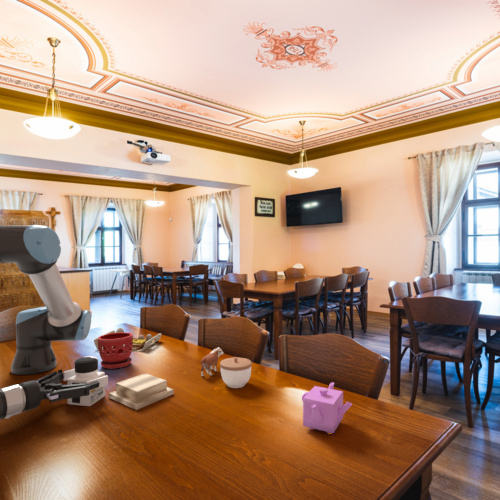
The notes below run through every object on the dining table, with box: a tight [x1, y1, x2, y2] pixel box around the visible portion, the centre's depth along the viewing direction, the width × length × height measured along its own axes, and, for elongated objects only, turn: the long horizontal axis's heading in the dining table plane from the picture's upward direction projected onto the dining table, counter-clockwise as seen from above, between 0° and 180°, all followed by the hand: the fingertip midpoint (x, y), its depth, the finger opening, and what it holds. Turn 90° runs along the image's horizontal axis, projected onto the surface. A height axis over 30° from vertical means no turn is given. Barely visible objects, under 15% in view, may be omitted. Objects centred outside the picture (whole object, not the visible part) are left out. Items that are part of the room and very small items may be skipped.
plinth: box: [108, 372, 174, 411], centre depth 114 cm, size 14×14×4 cm
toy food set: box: [93, 327, 162, 353], centre depth 172 cm, size 25×18×8 cm
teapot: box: [301, 381, 353, 434], centre depth 95 cm, size 18×13×10 cm
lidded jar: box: [219, 356, 253, 389], centre depth 123 cm, size 11×11×9 cm
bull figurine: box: [200, 347, 224, 377], centre depth 136 cm, size 4×13×8 cm, turn 155°
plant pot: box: [97, 331, 134, 370], centre depth 144 cm, size 13×13×12 cm
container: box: [66, 355, 106, 407], centre depth 111 cm, size 8×8×13 cm
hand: (95, 375), depth 114 cm, fingers open, 13 cm apart
